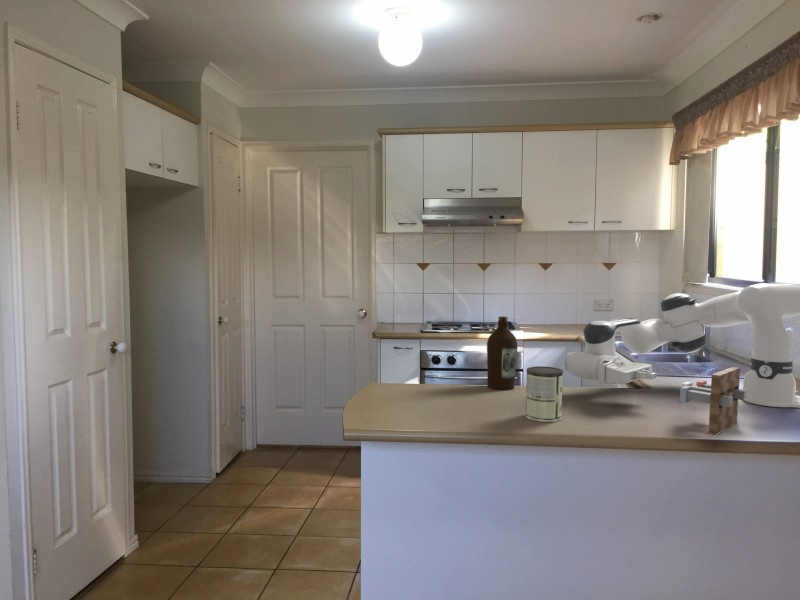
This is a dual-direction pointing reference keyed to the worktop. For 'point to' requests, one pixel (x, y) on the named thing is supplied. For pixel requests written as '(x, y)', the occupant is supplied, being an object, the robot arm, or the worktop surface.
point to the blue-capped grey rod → (702, 396)
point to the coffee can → (544, 394)
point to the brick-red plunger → (737, 392)
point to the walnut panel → (719, 386)
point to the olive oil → (501, 357)
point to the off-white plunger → (701, 388)
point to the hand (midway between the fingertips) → (654, 376)
